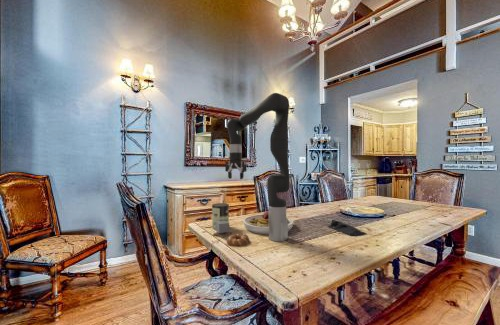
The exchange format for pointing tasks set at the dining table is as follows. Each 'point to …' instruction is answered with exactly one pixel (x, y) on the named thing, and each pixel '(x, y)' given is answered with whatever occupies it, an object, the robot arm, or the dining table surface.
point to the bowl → (261, 223)
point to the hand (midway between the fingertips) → (235, 178)
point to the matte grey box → (222, 226)
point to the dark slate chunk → (345, 228)
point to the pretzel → (237, 240)
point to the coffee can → (219, 213)
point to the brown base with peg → (222, 234)
